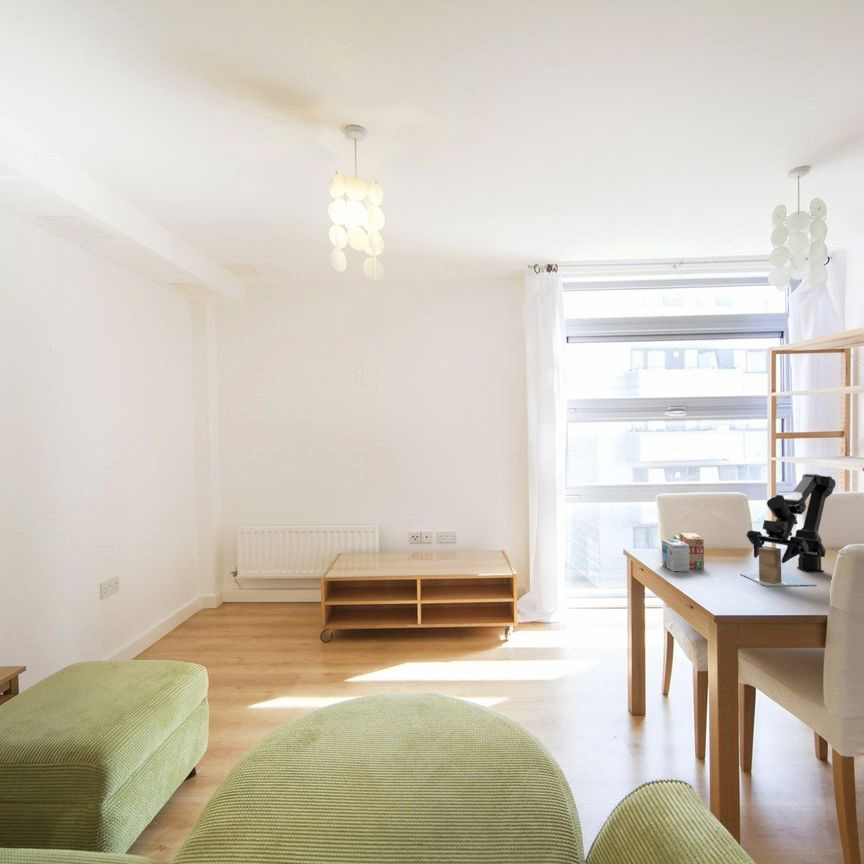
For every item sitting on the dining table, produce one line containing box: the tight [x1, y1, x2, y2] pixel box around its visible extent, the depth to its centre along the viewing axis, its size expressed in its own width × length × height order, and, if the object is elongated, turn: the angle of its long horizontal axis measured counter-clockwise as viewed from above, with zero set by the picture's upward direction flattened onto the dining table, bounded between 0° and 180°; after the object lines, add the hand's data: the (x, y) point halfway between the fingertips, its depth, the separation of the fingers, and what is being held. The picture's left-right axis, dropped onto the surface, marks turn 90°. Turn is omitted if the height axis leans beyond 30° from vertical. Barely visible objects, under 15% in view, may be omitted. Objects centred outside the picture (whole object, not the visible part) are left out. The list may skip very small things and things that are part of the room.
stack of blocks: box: [673, 532, 705, 569], centre depth 215 cm, size 21×6×12 cm, turn 168°
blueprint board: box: [739, 572, 817, 587], centre depth 187 cm, size 18×15×1 cm
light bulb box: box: [661, 538, 690, 573], centre depth 205 cm, size 11×7×11 cm, turn 178°
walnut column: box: [758, 545, 782, 584], centre depth 183 cm, size 5×5×12 cm
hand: (768, 559), depth 183 cm, fingers open, 9 cm apart
